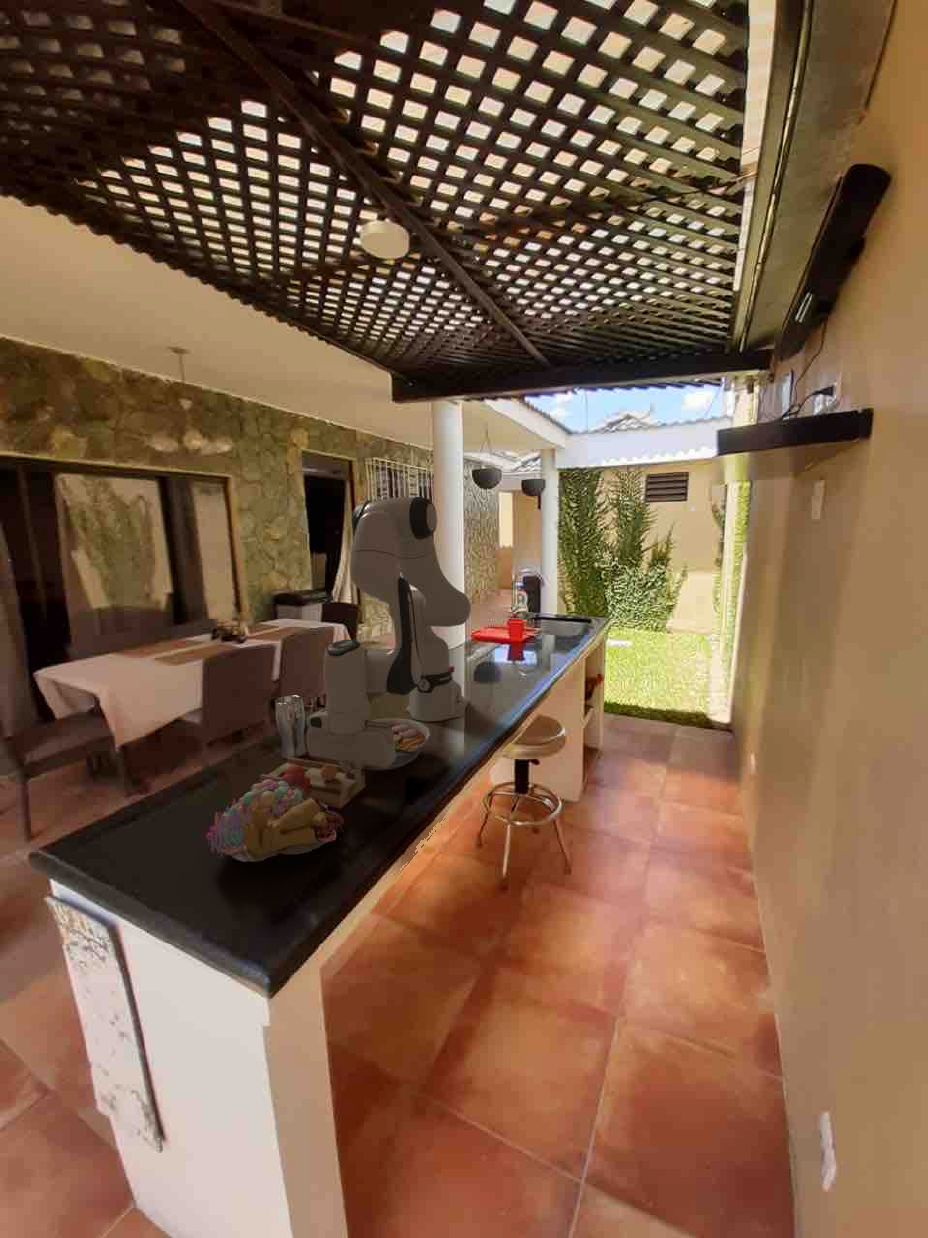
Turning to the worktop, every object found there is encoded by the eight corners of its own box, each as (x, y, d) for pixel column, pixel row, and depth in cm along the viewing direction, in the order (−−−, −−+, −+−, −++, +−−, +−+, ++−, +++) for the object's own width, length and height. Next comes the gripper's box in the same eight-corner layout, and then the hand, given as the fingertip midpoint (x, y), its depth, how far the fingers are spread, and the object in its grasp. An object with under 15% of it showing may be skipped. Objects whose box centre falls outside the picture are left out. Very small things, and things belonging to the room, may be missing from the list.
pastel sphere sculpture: (365, 838, 91) (369, 790, 90) (233, 882, 74) (237, 823, 74) (303, 792, 108) (306, 751, 108) (185, 820, 92) (188, 772, 92)
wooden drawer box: (290, 772, 118) (289, 756, 117) (365, 786, 110) (364, 769, 109) (261, 792, 109) (259, 775, 108) (340, 808, 101) (338, 791, 101)
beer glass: (286, 763, 122) (280, 706, 120) (275, 754, 128) (270, 699, 125) (312, 754, 127) (307, 699, 124) (301, 746, 132) (296, 693, 129)
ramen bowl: (451, 752, 126) (450, 722, 124) (404, 796, 105) (402, 761, 104) (371, 738, 136) (369, 710, 135) (314, 775, 116) (311, 743, 114)
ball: (327, 775, 110) (326, 760, 109) (340, 777, 108) (339, 762, 108) (317, 782, 106) (316, 767, 106) (331, 785, 105) (329, 770, 104)
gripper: (399, 718, 101) (403, 779, 104) (318, 708, 109) (323, 765, 111) (384, 729, 96) (388, 794, 98) (299, 718, 103) (305, 778, 106)
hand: (353, 779), depth 105 cm, fingers closed
